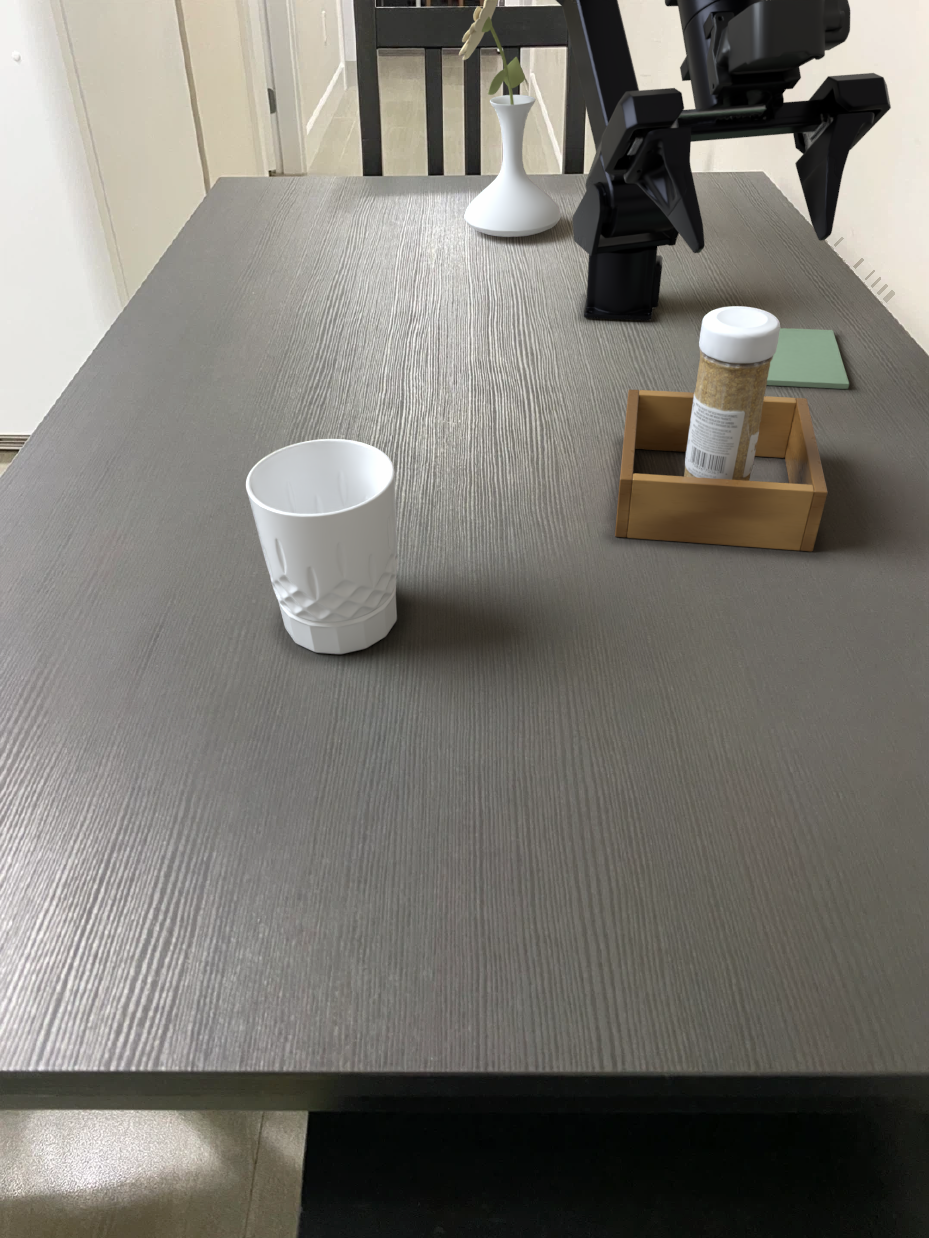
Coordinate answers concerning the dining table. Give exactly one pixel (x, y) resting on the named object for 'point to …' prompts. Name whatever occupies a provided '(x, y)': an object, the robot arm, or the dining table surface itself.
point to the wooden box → (721, 480)
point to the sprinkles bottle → (730, 391)
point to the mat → (807, 360)
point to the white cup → (329, 541)
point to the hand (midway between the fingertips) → (763, 244)
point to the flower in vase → (508, 153)
